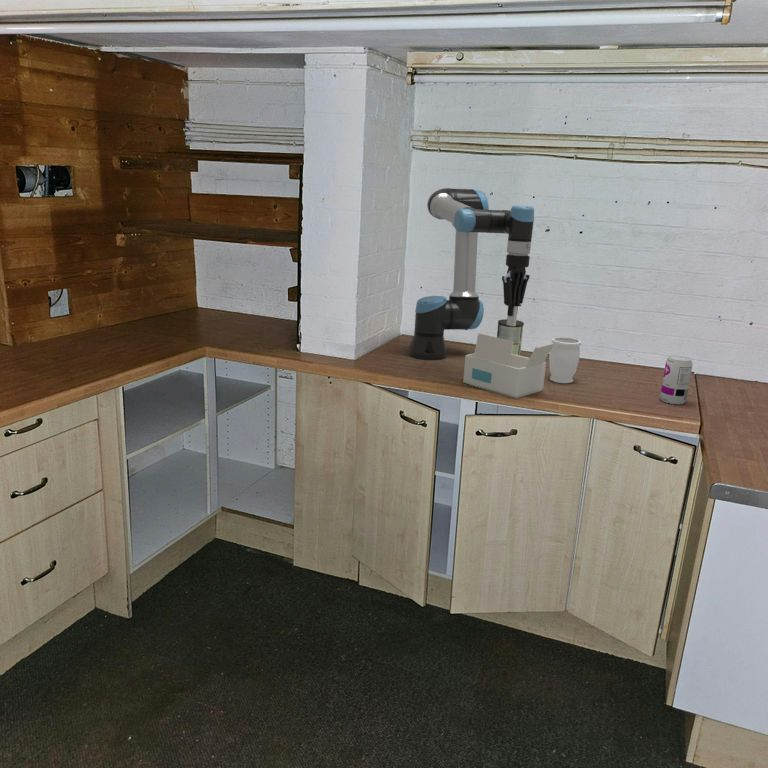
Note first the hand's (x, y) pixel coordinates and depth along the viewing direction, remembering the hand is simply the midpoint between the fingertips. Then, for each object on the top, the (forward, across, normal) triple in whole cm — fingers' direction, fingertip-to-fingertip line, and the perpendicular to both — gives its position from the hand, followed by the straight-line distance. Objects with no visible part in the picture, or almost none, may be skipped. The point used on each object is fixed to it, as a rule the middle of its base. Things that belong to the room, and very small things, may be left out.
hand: (511, 325), depth 234 cm
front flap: (+7, -8, 0) cm, 11 cm away
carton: (+22, -1, 0) cm, 22 cm away
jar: (+22, +24, -8) cm, 33 cm away
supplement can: (+22, +33, -45) cm, 60 cm away
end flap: (+8, -1, -12) cm, 15 cm away
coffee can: (+22, +39, +26) cm, 52 cm away
